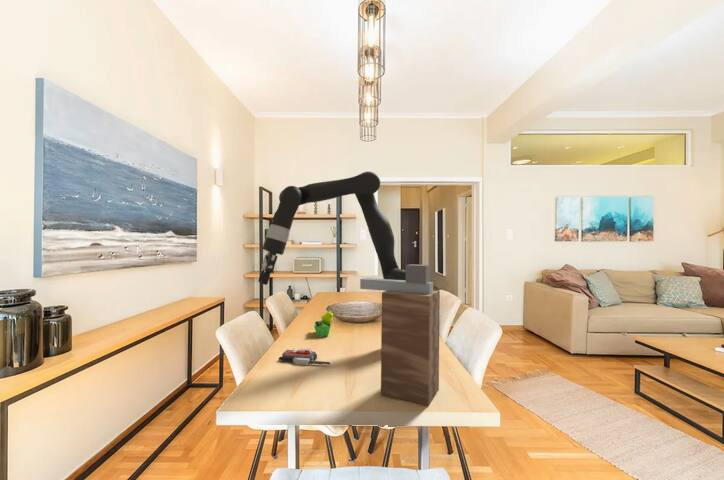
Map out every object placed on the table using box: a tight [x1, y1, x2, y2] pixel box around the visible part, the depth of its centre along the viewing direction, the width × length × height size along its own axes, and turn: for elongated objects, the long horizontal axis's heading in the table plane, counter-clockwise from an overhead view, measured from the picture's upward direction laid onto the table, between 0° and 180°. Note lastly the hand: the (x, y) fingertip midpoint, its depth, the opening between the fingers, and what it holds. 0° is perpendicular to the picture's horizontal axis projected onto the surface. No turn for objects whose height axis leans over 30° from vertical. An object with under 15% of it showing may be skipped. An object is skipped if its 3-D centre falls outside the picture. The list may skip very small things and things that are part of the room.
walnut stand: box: [380, 289, 441, 407], centre depth 102 cm, size 12×14×30 cm
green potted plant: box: [314, 310, 334, 338], centre depth 164 cm, size 11×9×11 cm
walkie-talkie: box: [278, 347, 331, 366], centre depth 128 cm, size 9×4×20 cm
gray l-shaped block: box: [359, 263, 434, 294], centre depth 104 cm, size 5×22×8 cm, turn 64°
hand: (262, 283), depth 120 cm, fingers open, 8 cm apart
